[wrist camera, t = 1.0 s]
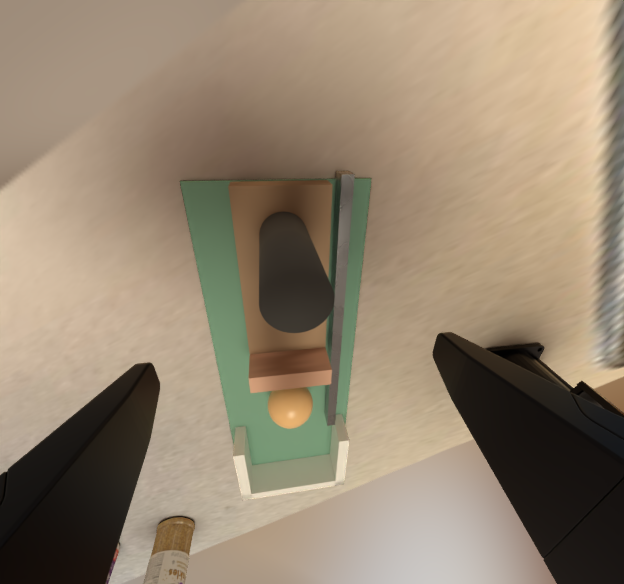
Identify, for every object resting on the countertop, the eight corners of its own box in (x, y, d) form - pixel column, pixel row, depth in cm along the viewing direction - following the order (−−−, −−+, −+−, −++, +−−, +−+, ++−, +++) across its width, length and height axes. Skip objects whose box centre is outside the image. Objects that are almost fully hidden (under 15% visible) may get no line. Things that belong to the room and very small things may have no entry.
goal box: (341, 413, 31) (349, 440, 28) (337, 457, 35) (343, 484, 32) (235, 427, 30) (233, 456, 27) (243, 471, 34) (242, 500, 31)
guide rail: (348, 170, 19) (354, 174, 18) (332, 411, 31) (335, 424, 29) (336, 170, 19) (341, 174, 17) (324, 413, 31) (327, 425, 29)
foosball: (309, 368, 27) (316, 404, 24) (309, 398, 29) (315, 435, 26) (265, 373, 26) (266, 410, 23) (268, 403, 28) (269, 441, 25)
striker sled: (327, 180, 19) (379, 226, 10) (321, 349, 26) (349, 454, 18) (230, 181, 18) (205, 232, 10) (251, 355, 25) (247, 469, 17)
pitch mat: (370, 178, 19) (371, 178, 19) (341, 457, 36) (341, 459, 35) (180, 181, 18) (179, 181, 18) (239, 472, 34) (239, 474, 34)
